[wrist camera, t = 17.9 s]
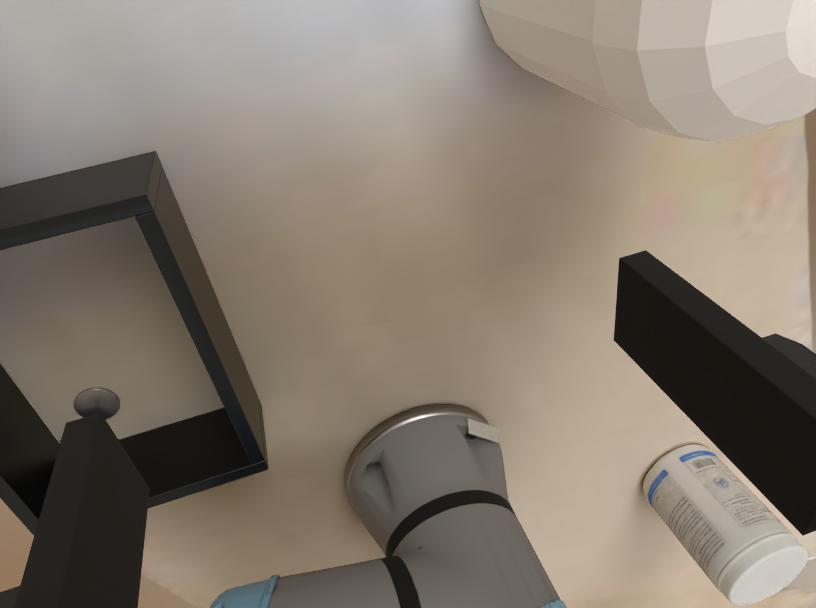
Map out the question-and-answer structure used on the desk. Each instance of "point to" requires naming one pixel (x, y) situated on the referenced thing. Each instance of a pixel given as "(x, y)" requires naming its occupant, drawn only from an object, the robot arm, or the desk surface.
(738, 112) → the container
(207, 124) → the desk surface
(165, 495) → the black open box
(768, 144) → the desk surface
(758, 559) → the supplement tub
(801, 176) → the desk surface
